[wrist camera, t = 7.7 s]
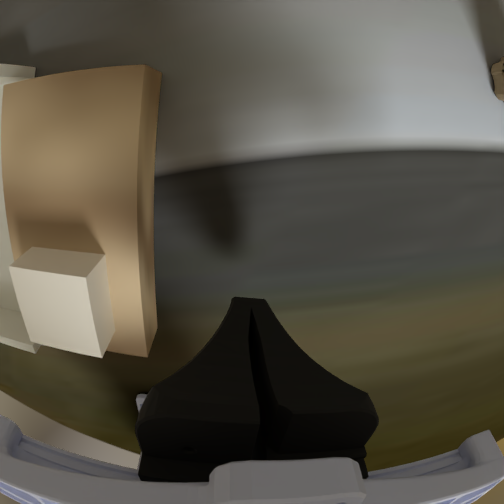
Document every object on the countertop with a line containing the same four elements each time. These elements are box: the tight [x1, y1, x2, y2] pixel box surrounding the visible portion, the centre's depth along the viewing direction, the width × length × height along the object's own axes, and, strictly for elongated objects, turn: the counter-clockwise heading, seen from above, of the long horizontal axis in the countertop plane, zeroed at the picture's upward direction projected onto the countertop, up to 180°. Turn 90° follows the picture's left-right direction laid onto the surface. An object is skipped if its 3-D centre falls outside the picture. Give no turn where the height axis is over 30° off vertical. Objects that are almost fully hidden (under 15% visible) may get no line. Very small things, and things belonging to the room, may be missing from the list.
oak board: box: [1, 64, 162, 357], centre depth 13 cm, size 13×7×2 cm, turn 174°
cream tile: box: [9, 247, 115, 358], centre depth 12 cm, size 4×4×2 cm
